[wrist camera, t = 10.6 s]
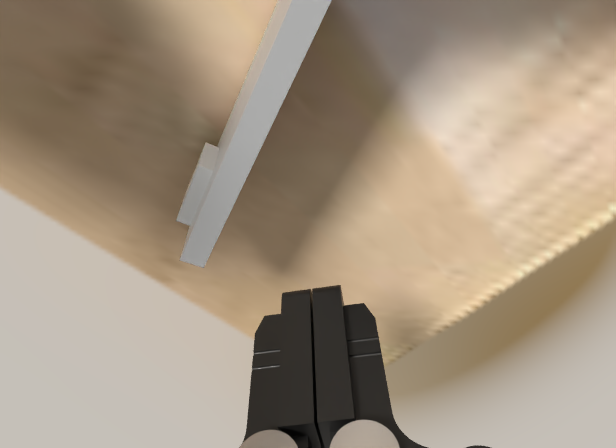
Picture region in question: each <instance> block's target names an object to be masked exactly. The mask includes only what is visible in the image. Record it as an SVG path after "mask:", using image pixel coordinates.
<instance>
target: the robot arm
mask: <svg viewBox="0 0 616 448" xmlns="http://www.w3.org/2000/svg"><path fill="white" fill-rule="evenodd" d="M239 448H427V447H424V446H421V445H419V444H417V443H415V442H413V441H412V440H410V439H409V438H408V437H407V436H406V435H404V433H403V432H402V431H401V430H400V429H399V427H398V426H397V424H396V422H395V420H394V418H393V414H392V409H391V405H390V398H389V393H388V387H387V381H386V376H385V370H384V365H383V359H382V354H381V348H380V343H379V337H378V332H377V326H376V321H375V317H374V316H373V315H372V313H371V312H370V311H369V309H368V308H367V307H366V305H365V304H364V303H361V304H353V305H345V306H344V302H343V296H342V290H341V285H337V286H329V287H322V288H314V289H312V291H311V289H307V290H300V291H292V292H285V293H282V305H281V314H276V315H268V316H264V318H263V320H262V322H261V323H260V325H259V327H258V329H257V331H256V333H255V340H254V356H253V363H252V375H251V386H250V397H249V409H248V420H247V429H246V435H245V438H244V441H243V443H242V444H241V446H240V447H239ZM467 448H490V447H486V446H470V447H467Z"/></svg>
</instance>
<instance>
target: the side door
mask: <svg viewBox="0 0 616 448" xmlns="http://www.w3.org/2000/svg"><path fill="white" fill-rule="evenodd" d="M331 1H332V0H278V1H277V4H276V6H275V8H274V11H273V13H272V16H271V18H270V20H269V23H268V25H267V28H266V30H265V32H264V35H263V37H262V40H261V42H260V44H259V47H258V49H257V52H256V54H255V56H254V59H253V61H252V64H251V66H250V68H249V71H248V73H247V76H246V78H245V80H244V83H243V85H242V88H241V90H240V92H239V95H238V97H237V100H236V102H235V104H234V107H233V109H232V112H231V114H230V116H229V119H228V121H227V124H226V126H225V128H224V131H223V133H222V136H221V138H220V140H219V143H218V145H217V147H216V146H214V145H211V144H209V143H205V145H204V148H203V150H202V153H201V155H200V158H199V160H198V163H197V165H196V168H195V170H194V173H193V175H192V178H191V180H190V183H189V185H188V188H187V190H186V193H185V195H184V198H183V201H182V204H181V207H180V210H179V213H178V216H177V219H176V221H178V222H181V223H184V224H186V225H189V230H188V233H187V236H186V240H185V243H184V247H183V250H182V254H181V257H180V260H181V261H184V262H187V263H190V264H193V265H196V266H199V267H202V268H204V266H205V264H206V262H207V260H208V258H209V256H210V254H211V252H212V249H213V247H214V245H215V243H216V241H217V239H218V237H219V235H220V233H221V231H222V229H223V226H224V224H225V222H226V220H227V218H228V216H229V214H230V212H231V210H232V208H233V206H234V203H235V201H236V199H237V197H238V195H239V193H240V191H241V189H242V187H243V185H244V183H245V180H246V178H247V176H248V174H249V172H250V170H251V168H252V166H253V164H254V162H255V160H256V157H257V155H258V153H259V151H260V149H261V147H262V145H263V143H264V141H265V139H266V137H267V134H268V132H269V130H270V128H271V126H272V124H273V122H274V120H275V118H276V116H277V114H278V111H279V109H280V107H281V105H282V103H283V101H284V99H285V97H286V95H287V93H288V91H289V88H290V86H291V84H292V82H293V80H294V78H295V76H296V74H297V72H298V70H299V68H300V65H301V63H302V61H303V59H304V57H305V55H306V53H307V51H308V49H309V47H310V45H311V42H312V40H313V38H314V36H315V34H316V32H317V30H318V28H319V26H320V24H321V22H322V19H323V17H324V15H325V13H326V11H327V9H328V7H329V5H330V3H331Z"/></svg>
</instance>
